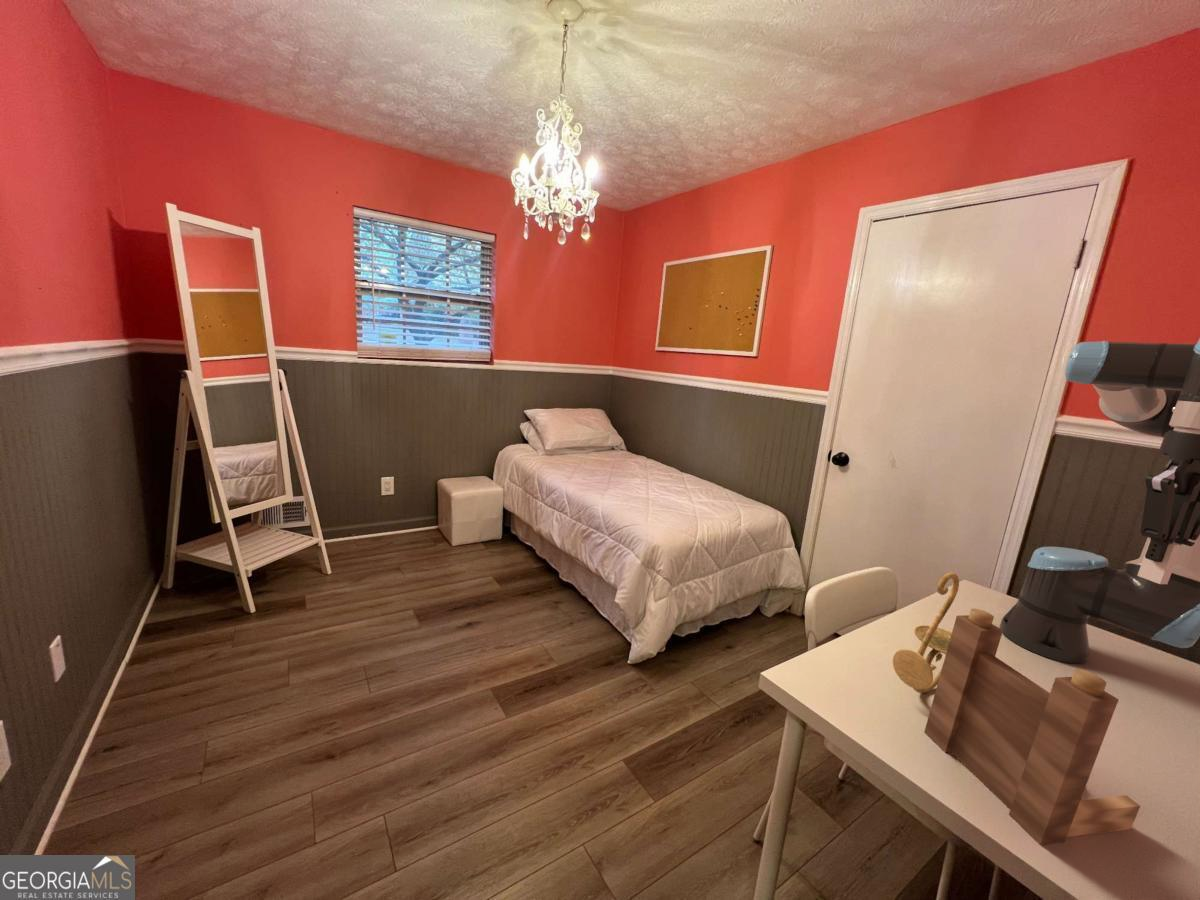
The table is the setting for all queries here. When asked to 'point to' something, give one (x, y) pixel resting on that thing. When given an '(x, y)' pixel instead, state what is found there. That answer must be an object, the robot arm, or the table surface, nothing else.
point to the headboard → (1025, 735)
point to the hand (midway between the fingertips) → (1152, 579)
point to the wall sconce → (913, 664)
